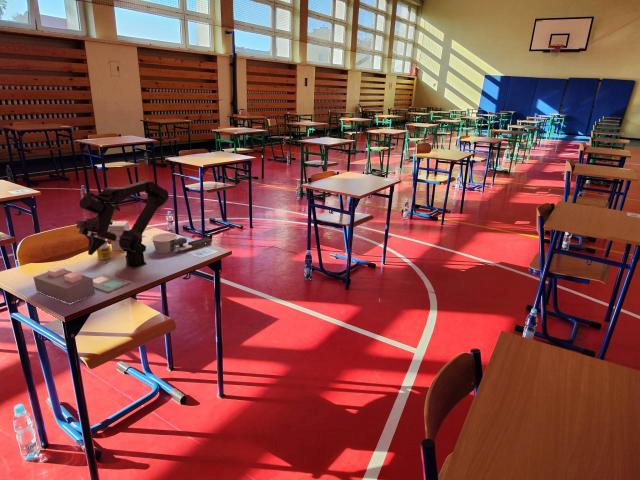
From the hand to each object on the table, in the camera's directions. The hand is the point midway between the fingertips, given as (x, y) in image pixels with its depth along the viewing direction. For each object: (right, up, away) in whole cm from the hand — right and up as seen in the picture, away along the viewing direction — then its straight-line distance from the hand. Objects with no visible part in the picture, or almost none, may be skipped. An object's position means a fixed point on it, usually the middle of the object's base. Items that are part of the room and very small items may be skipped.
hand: (89, 254), depth 164 cm
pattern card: (+5, -12, +4) cm, 13 cm away
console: (-6, -15, -5) cm, 17 cm away
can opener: (+28, +2, +43) cm, 51 cm away
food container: (+15, +1, +40) cm, 43 cm away
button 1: (-10, -9, -3) cm, 14 cm away
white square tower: (-7, +2, +41) cm, 42 cm away
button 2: (-1, -11, -8) cm, 13 cm away
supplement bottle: (-7, -4, +26) cm, 27 cm away
